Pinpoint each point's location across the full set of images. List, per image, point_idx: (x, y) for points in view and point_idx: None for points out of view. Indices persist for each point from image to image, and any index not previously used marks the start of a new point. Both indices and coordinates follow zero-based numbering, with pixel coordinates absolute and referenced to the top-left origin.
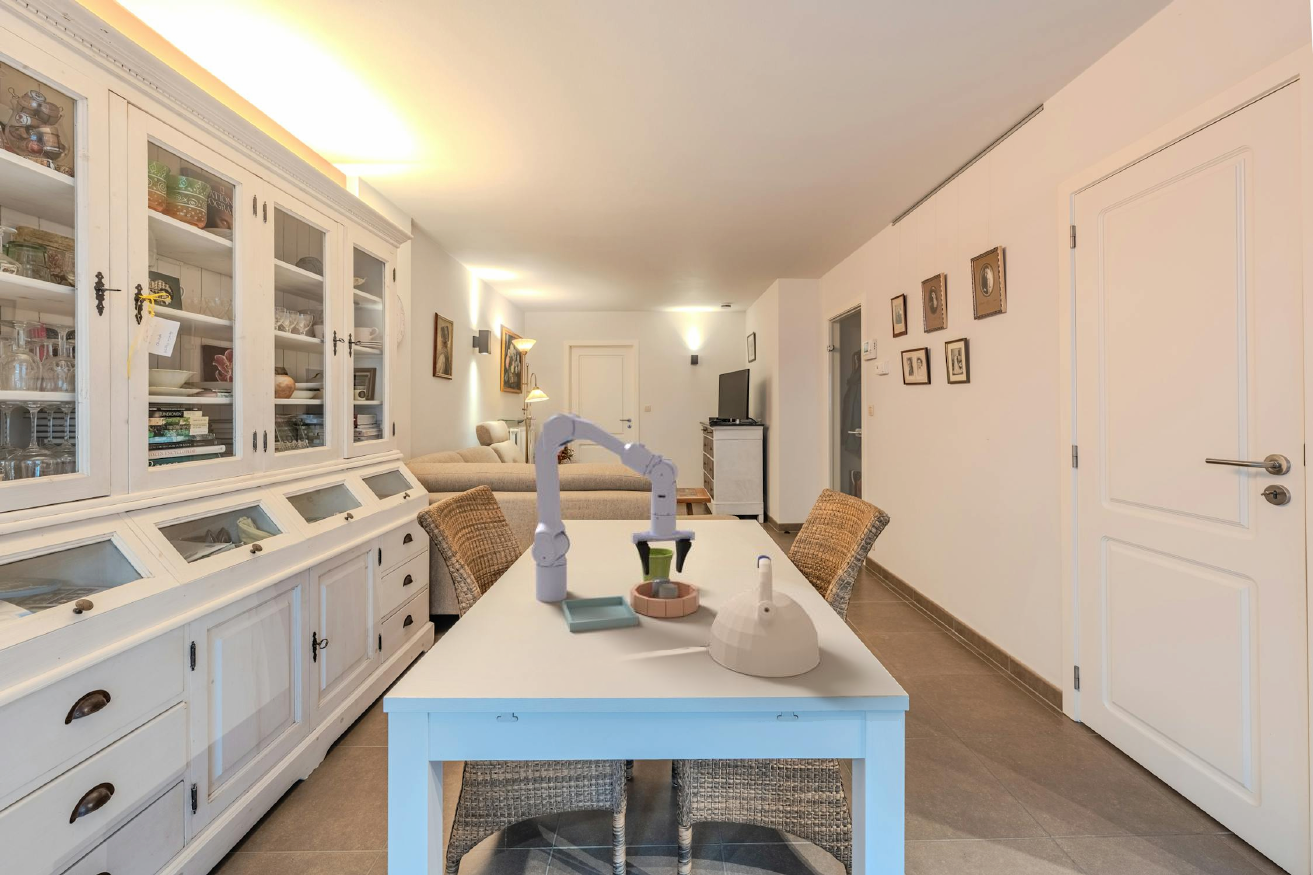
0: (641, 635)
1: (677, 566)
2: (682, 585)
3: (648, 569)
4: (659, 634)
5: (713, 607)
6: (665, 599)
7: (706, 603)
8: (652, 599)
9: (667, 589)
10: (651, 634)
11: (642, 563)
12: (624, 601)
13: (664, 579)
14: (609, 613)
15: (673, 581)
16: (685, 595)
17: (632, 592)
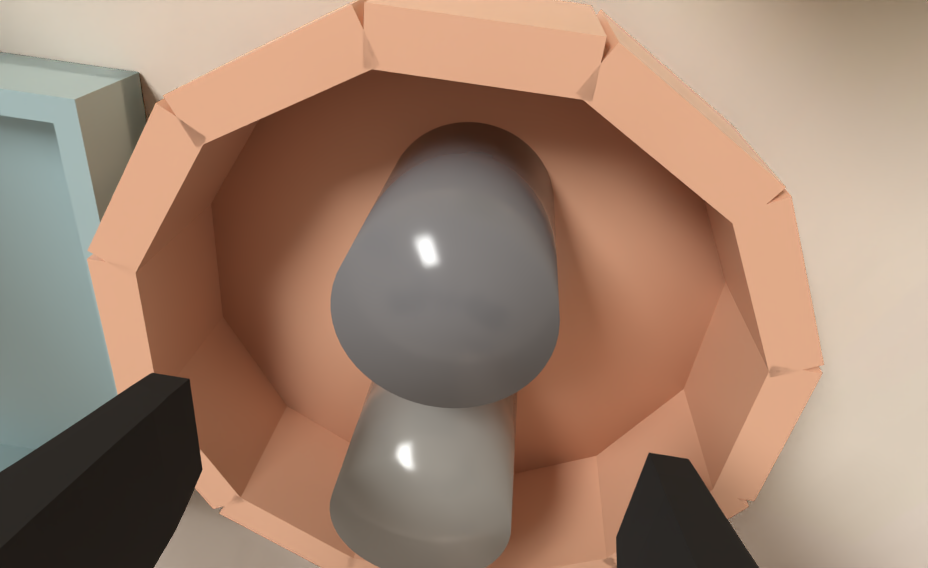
0: (202, 531)
1: (644, 559)
2: (737, 269)
3: (151, 547)
4: (293, 553)
5: (840, 385)
6: (351, 558)
7: (866, 295)
8: (254, 523)
9: (381, 565)
10: (254, 540)
11: (30, 460)
12: (86, 246)
13: (483, 329)
14: (5, 271)
15: (686, 178)
16: (722, 254)
17: (104, 336)
